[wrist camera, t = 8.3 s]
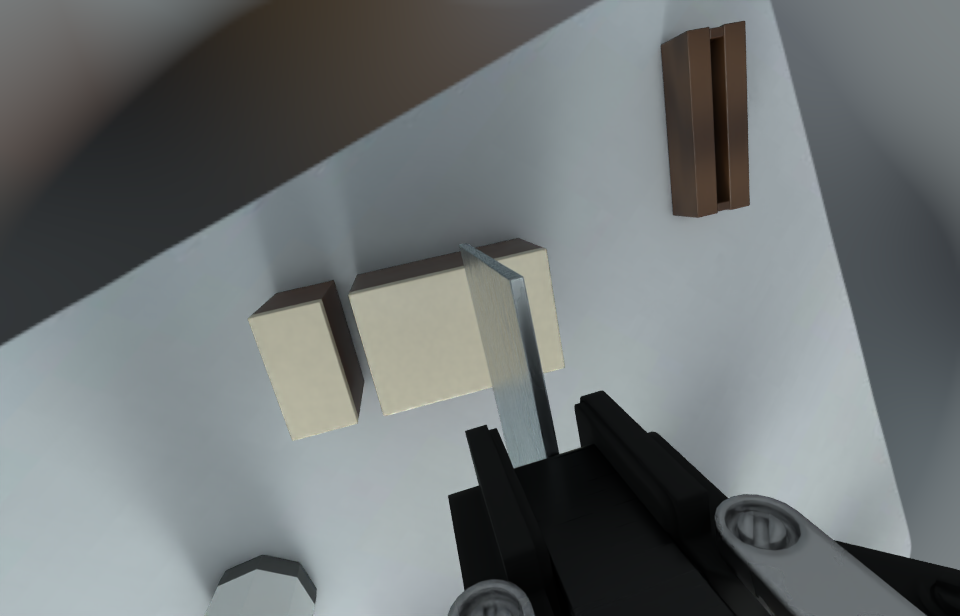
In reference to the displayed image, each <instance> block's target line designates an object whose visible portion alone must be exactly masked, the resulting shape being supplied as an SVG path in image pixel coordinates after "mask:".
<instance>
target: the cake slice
mask: <svg viewBox="0 0 960 616" xmlns="http://www.w3.org/2000/svg"><path fill="white" fill-rule="evenodd" d="M248 321H249V324H250V327H251V329H252V332H253V335H254V338H255V340H256V343H257V346H258V348H259V351H260V354H261V357H262V359H263V362H264V365H265V368H266V370H267V373H268V376H269V378H270V381H271V384H272V387H273V389H274V392H275V395H276V398H277V400H278V403H279V406H280V408H281V411H282V414H283V417H284V419H285V422H286V425H287V427H288V430H289V433H290V436H291V438H292V441H295V440H298V439H302V438H306V437H309V436H313V435H317V434H321V433H324V432H328V431H332V430H335V429H339V428H343V427H347V426H350V425H354V424H357V423H358V418H359V412H360V405H361V399H362V392H363V386H364V379H363V376H362V372H361V369H360V366H359V362H358V359H357V356H356V352H355V349H354V346H353V342H352V339H351V336H350V332H349V329H348V326H347V322H346V319H345V316H344V312H343V309H342V306H341V302H340V299H339V296H338V292H337V289H336V286H335V283H334V280H332V281H328V282H323V283H319V284H315V285H310V286H306V287H302V288H297V289H293V290H288V291H284V292H280V293H276V294H275V295H274V296H273V297H272V298H270V299H269V300H268V301H267V302H266V303H265V304H264V305H262V306H261V307H260V308H259V309H258V310H257V311H256V312H255V313H253V314H252V315H251V316H250V317H249V318H248Z"/></svg>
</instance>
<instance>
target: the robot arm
mask: <svg viewBox="0 0 960 616" xmlns="http://www.w3.org/2000/svg"><path fill="white" fill-rule="evenodd" d="M575 415H576V420H577V426H578V432H579V438H580V443H581V447H584V446H587V445H590V444H595V445H596V446H597V448H598V449H599V450H600V451H601V453H602V454H603V455H604V456H605V457H606V459H607V460H608V461H609V462H610V464H611V465H612V466H613V467H614V469H615V470H616V471H617V472H618V473H619V475H620V476H621V477H622V478H623V480H624V481H625V482H626V483H627V485H628V486H629V487H630V488H631V489H632V491H633V492H634V493H635V494H636V496H637V497H638V498H639V499H640V500H641V502H642V503H643V504H644V505H645V507H646V508H647V509H648V510H649V512H650V513H651V514H652V515H653V516H654V518H655V519H656V520H657V521H658V523H659V524H660V525H661V526H662V528H663V529H664V530H665V531H666V532H669V534H670V535H671V536H672V537H673V538H674V540H675V541H676V542H677V543H678V545H679V546H680V547H681V548H682V549H683V551H684V552H685V553H686V554H687V555H688V557H689V558H690V559H691V560H692V562H693V563H694V564H695V565H696V566H697V568H698V569H699V570H700V571H701V573H702V574H703V575H704V576H705V577H706V579H707V580H708V581H709V582H710V584H711V585H712V586H713V587H714V588H715V590H716V591H717V592H718V593H719V595H720V596H721V597H722V598H723V599H724V601H725V602H726V603H727V604H728V605H729V607H730V608H731V609H732V610H733V612H734V613H735V614H736V615H737V616H960V570H957V569H953V568H948V567H944V566H940V565H936V564H932V563H928V562H923V561H919V560H915V559H911V558H907V557H902V556H898V555H894V554H890V553H886V552H881V551H877V550H873V549H869V548H865V547H860V546H856V545H852V544H848V543H843V542H839V541H835V540H833V539H831V538H830V537H829V536H828V535H826V534H825V533H824V532H823V531H821V530H820V529H819V528H818V527H817V526H815V525H814V524H813V523H812V522H810V521H809V520H808V519H807V518H805V517H804V516H803V515H802V514H801V513H799V512H798V511H797V510H795V509H793V508H792V507H790V506H789V505H787V504H786V503H783V502H781V501H778V500H776V499H773V498H770V497H766V496H761V495H748V494H743V495H738V496H733V497H730V498H727V497H726V496H725V495H724V494H723V493H722V492H721V491H720V490H719V489H718V488H716V487H715V486H714V485H713V484H712V483H711V482H710V481H709V480H708V479H707V478H706V477H705V476H704V475H702V474H701V473H700V472H699V471H698V470H697V469H696V468H695V467H694V466H693V465H692V464H691V463H689V462H688V461H687V460H686V459H685V458H684V457H683V456H682V455H681V454H680V453H679V452H678V451H677V450H675V449H674V448H673V447H672V446H671V445H670V444H669V443H668V442H667V441H666V440H665V439H664V438H662V437H661V436H660V435H659V434H658V433H656V432H649V433H647V432H646V431H645V430H644V429H643V428H642V427H641V426H640V425H639V424H638V423H636V422H635V421H634V420H633V419H632V418H631V417H630V416H629V415H628V414H627V413H626V412H625V411H624V410H623V409H622V408H621V407H620V406H619V405H618V404H617V403H616V402H615V401H614V400H613V399H612V398H611V397H609V396H608V395H607V394H606V393H605V392H604V391H598V392H595V393H591V394H588V395H585V396H581V398H580V403H578V404H575ZM465 433H466V437H467V441H468V445H469V448H470V452H471V456H472V460H473V464H474V468H475V472H476V475H477V479H478V483H479V486H476V487H473V488H470V489H467V490H463V491H460V492H457V493H454V494H451V495H448V498H449V504H450V510H451V516H452V521H453V527H454V533H455V538H456V544H457V550H458V555H459V561H460V567H461V572H462V578H463V584H464V589H465V591H464V592H463V593H462V594H461V595H459V596H458V598H457V599H456V601H455V602H454V603H453V605H452V606H451V608H450V611H449V614H448V616H562V614H561V610H560V605H559V601H558V596H557V591H556V587H555V582H554V578H553V571H552V566H551V562H550V557H549V553H548V550H547V547H546V544H545V541H544V538H543V535H542V533H541V530H540V528H539V525H538V523H537V521H536V518H535V516H534V514H533V512H532V509H531V507H530V505H529V502H528V500H527V498H526V495H525V493H524V491H523V488H522V486H521V484H520V481H519V479H518V477H517V474H516V472H515V470H514V467H513V465H512V463H511V460H510V458H509V456H508V453H507V451H506V449H505V446H504V444H503V442H502V439H501V437H500V435H499V433H498V430H497V428H495V429H491V430H488V427H487V425H484V426H480V427H477V428H473V429H470V430H467V431H465Z"/></svg>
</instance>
